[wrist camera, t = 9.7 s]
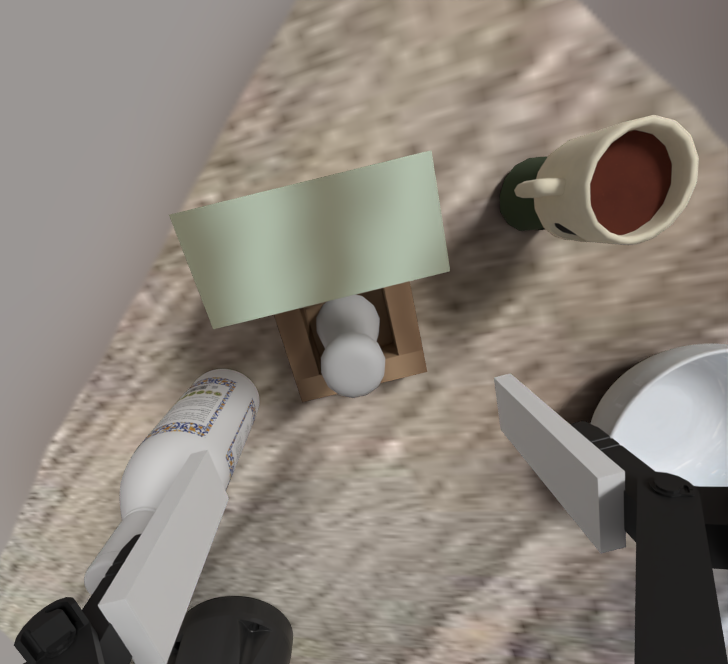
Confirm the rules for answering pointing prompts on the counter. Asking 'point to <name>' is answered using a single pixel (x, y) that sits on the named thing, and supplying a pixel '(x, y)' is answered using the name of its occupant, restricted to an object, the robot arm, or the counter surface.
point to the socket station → (322, 258)
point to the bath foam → (181, 453)
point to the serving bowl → (673, 413)
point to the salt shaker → (350, 346)
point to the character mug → (606, 184)
